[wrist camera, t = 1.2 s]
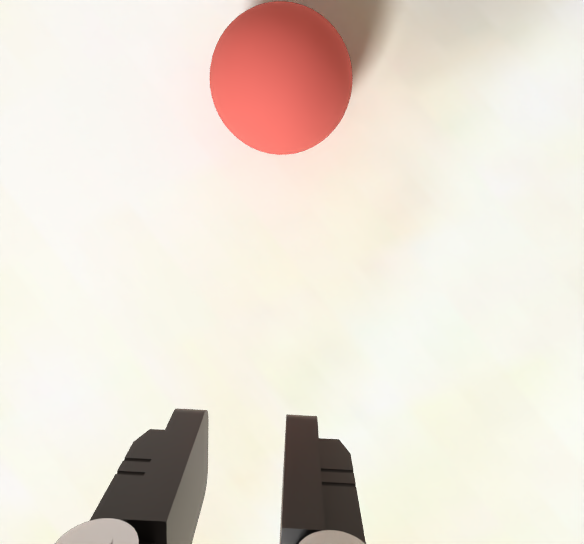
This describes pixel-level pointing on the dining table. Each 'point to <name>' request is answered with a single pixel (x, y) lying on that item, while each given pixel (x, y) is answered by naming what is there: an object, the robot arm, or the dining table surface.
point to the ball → (281, 77)
